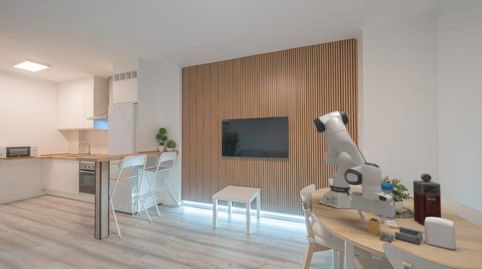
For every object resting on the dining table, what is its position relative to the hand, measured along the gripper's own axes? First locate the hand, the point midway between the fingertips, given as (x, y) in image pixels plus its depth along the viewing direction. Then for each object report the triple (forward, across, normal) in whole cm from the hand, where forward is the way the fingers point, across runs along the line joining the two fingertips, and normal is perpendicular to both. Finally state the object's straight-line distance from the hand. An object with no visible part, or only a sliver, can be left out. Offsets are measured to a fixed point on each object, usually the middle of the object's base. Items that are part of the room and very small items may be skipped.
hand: (372, 221), depth 114 cm
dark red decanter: (+5, +18, +35) cm, 39 cm away
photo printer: (+6, +26, +6) cm, 27 cm away
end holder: (+5, +15, +4) cm, 16 cm away
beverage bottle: (+5, -1, +30) cm, 31 cm away
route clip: (+6, +8, -5) cm, 11 cm away
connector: (+5, +1, +1) cm, 6 cm away
